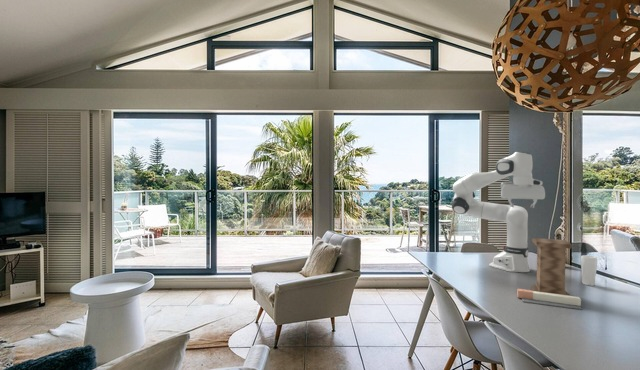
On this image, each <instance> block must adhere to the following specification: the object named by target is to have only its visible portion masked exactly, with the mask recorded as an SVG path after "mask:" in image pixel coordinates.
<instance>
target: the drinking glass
mask: <svg viewBox="0 0 640 370" xmlns="http://www.w3.org/2000/svg"><path fill="white" fill-rule="evenodd" d="M597 267H598V257H596V256H594V255H593V256H592V255H588V254H586V255H585V254H583V255H581V256H580V268H581V271H580V272H581V283H582V284H583V285H585V286H590V287H591V286H592V287H593V286H595V285H596V278H597V277H596V276H597V271H598V270H597V269H598V268H597Z"/></svg>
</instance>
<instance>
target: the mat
mask: <svg viewBox="0 0 640 370" xmlns="http://www.w3.org/2000/svg"><path fill="white" fill-rule="evenodd" d="M520 299H521V300H522V303H527V304H528V303H529V304H535V305H544V306H550V307H557V306H558V307H559V308H564V307H565V308H566V309H572V308H574V309H573V310H580V311H581V310H583V308H582V307H581V306H578V305H571V304H563V303H556V302H549V301H542V300H534V299H527V298H520Z"/></svg>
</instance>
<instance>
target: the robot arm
mask: <svg viewBox="0 0 640 370" xmlns="http://www.w3.org/2000/svg"><path fill="white" fill-rule="evenodd" d="M533 166H534V164H533V156H532V154H531V153H530V152H527V151H522V150H521V151H515V152H514V153H513V154H511V155H509V156H506V157H503V158H501V159H498V160H497V162H495V170H493V171H488V172H487V171H486V172H481V171H480V172H472V173H469V174H467V175H464V176H462V177H460V178H459V179H457V181H455V182H453V185H452V190H453V192H454V195H453V199H452V203H451V209H452V211H453V212H454V213H456V214H459V215H464V214H466V215H468V216H470V217H473V218H476V219H477V218H478V219H482V220H487V221H494V222H504V223H506V245H504V246H502V250H503V251H501V252H499V253H498V254H496V255H494V256H493V259H492V262H489V264H488V266H489V267H490V268H491V267H492V268H495V269H499V270H501V271H506V272H508V273H518V272H519V273H529V272H530V271H531V270H530V266H529V265H530V264H529V260H528V257H529V247H528V236H529V235H528V233H529V232H528V221H529V220H528V219H529V214H528V211H527V209H525V207H523V206H520V205H515V203H512V200H515V199H516V200H521V199H522V200H532V201H533V203H531V204H530V208H532V209H535V205H536V203H537V202H538V200H544V199H545V198H546V190H545V187H544V186H543V185H544V184H543V183H544V182H543V181H542V180H539V179H536V178H533V168H534V167H533ZM509 177H512V181H502V182H501V183H500V188H499V189H501V191H500V198H501V199H504V200H505V199H507V201H508V203H509V204H503V203H502V204H501V203H493V202H488V201H481V200H480V201H479V200H476V199H475V197H476V194H475V192H476V191H479V190H480V189H482V188H485V187H487V186H488V185H492V184H493V183H496V182H499V181H501V180H503V179H506V178H509Z"/></svg>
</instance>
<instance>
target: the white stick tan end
mask: <svg viewBox="0 0 640 370" xmlns="http://www.w3.org/2000/svg"><path fill="white" fill-rule="evenodd" d="M516 290H517V291H516V293H517V298H520V299H521V298H527V299H534V300H542V301H549V302H556V303H563V304H571V305H578V306H580V307H581V306H582V298H580V296H575V295H573V296H572V295H570V296H568V295H560V294H552V293H544V292H537V291H533V290H532V289H531V290H530V289H524V288H517V289H516Z"/></svg>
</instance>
